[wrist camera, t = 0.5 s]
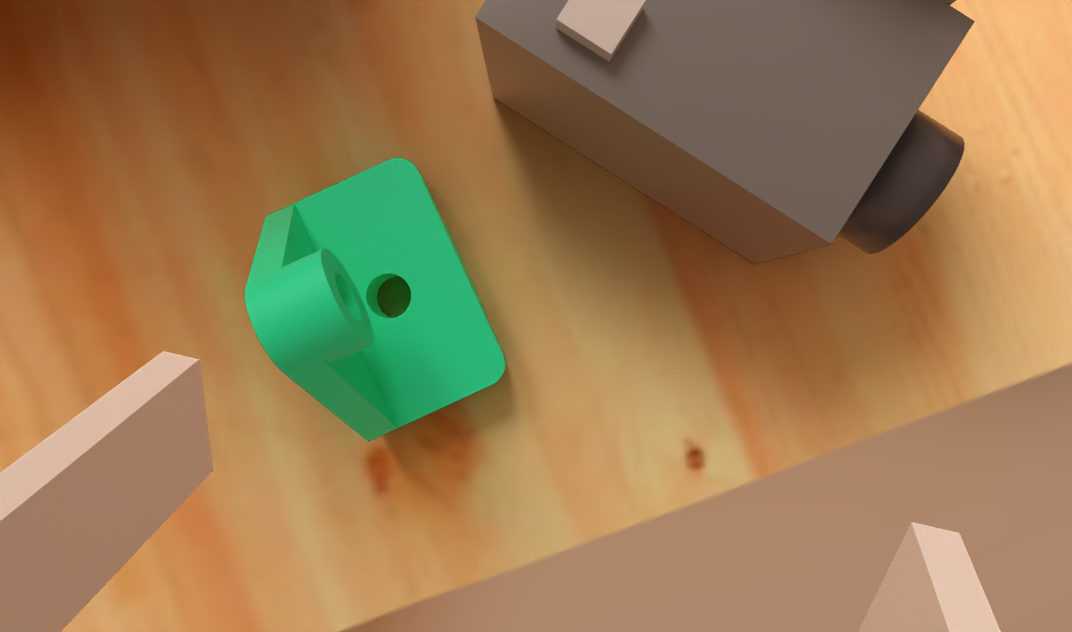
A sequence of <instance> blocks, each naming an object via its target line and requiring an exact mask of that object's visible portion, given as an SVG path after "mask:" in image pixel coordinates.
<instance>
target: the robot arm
mask: <svg viewBox="0 0 1072 632" xmlns="http://www.w3.org/2000/svg"><path fill="white" fill-rule="evenodd" d="M212 471H213V468H212V460H211V452H210V443H209V435H208V427H207V419H206V411H205V403H204V394H203V386H202V378H201V370H200V362H199V359H196V358H191V357H187V356H183V355H178V354H174V353H170V352H165V351H162V352H161V353H160V354H158V355H157V356H156V357H154V358H153V359H152V360H150V361H149V362H148V363H146V364H145V365H144V366H142V367H141V368H140V369H138V370H137V371H136V372H134V373H133V374H132V375H130V376H129V377H127V378H126V379H125V380H123V381H122V382H121V383H119V384H118V385H117V386H115V387H114V388H113V389H111V390H110V391H109V392H107V393H106V394H105V395H103V396H102V397H101V398H99V399H98V400H97V401H95V402H94V403H93V404H91V405H90V406H89V407H87V408H86V409H85V410H83V411H82V412H81V413H79V414H78V415H77V416H75V417H74V418H72V419H71V420H70V421H68V422H67V423H66V424H64V425H63V426H62V427H60V428H59V429H58V430H56V431H55V432H54V433H52V434H51V435H50V436H48V437H47V438H46V439H44V440H43V441H42V442H40V443H39V444H38V445H36V446H35V447H34V448H32V449H31V450H30V451H28V452H27V453H26V454H24V455H23V456H22V457H20V458H19V459H17V460H16V461H15V462H13V463H12V464H11V465H9V466H8V467H7V468H5V469H4V470H3V471H1V472H0V632H61V631H62V630H63V629H64V628H65V627H66V626H67V624H68V623H69V622H70V621H71V620H72V619H73V618H74V617H75V616H76V615H77V614H78V613H79V612H80V611H81V610H82V609H83V608H84V606H85V605H86V604H87V603H88V602H89V601H90V600H91V599H92V598H93V597H94V596H95V595H96V594H97V593H98V592H99V591H100V589H101V588H102V587H103V586H104V585H105V584H106V583H107V582H108V581H109V580H110V579H111V578H112V577H113V576H114V575H115V574H116V573H117V571H118V570H119V569H120V568H121V567H122V566H123V565H124V564H125V563H126V562H127V561H128V560H129V559H130V558H131V557H132V556H133V555H134V553H135V552H136V551H137V550H138V549H139V548H140V547H141V546H142V545H143V544H144V543H145V542H146V541H147V540H148V539H149V538H150V537H151V535H152V534H153V533H154V532H155V531H156V530H157V529H158V528H159V527H160V526H161V525H162V524H163V523H164V522H165V521H166V520H167V519H168V517H169V516H170V515H171V514H172V513H173V512H174V511H175V510H176V509H177V508H178V507H179V506H180V505H181V504H182V503H183V502H184V501H185V499H186V498H187V497H188V496H189V495H190V494H191V493H192V492H193V491H194V490H195V489H196V488H197V487H198V486H199V485H200V484H201V482H202V481H203V480H204V479H205V478H206V477H207V476H208V475H209V474H210V473H211V472H212ZM858 632H1001V631H1000V629H999V627H998V624H997V622H996V619H995V617H994V615H993V612H992V610H991V607H990V605H989V603H988V601H987V598H986V596H985V593H984V591H983V588H982V586H981V584H980V581H979V579H978V576H977V574H976V572H975V569H974V567H973V565H972V562H971V560H970V557H969V555H968V553H967V550H966V548H965V545H964V543H963V541H962V538H961V536H960V534H959V533H958V532H953V531H949V530H944V529H940V528H936V527H931V526H927V525H923V524H918V523H914V522H911V524H910V526H909V528H908V530H907V532H906V534H905V536H904V538H903V540H902V543H901V545H900V546H899V548H898V550H897V553H896V555H895V557H894V559H893V561H892V563H891V565H890V567H889V569H888V571H887V573H886V575H885V577H884V579H883V581H882V583H881V585H880V587H879V589H878V592H877V594H876V596H875V598H874V600H873V602H872V604H871V606H870V608H869V610H868V612H867V614H866V616H865V618H864V620H863V622H862V624H861V626H860V629H859V631H858Z"/></svg>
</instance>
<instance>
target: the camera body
mask: <svg viewBox="0 0 1072 632" xmlns="http://www.w3.org/2000/svg"><path fill="white" fill-rule="evenodd" d="M475 18H476V22H477V27H478V31H479V36H480V40H481V45H482V49H483V54H484V59H485V63H486V68H487V72H488V77H489V81H490V86H491V90H492V95H493V98H494V99H496V100H498V101H499V102H501V103H502V104H504V105H505V106H507V107H509V108H510V109H512V110H513V111H515V112H516V113H518V114H520V115H521V116H523V117H524V118H526V119H527V120H529V121H531V122H532V123H534V124H535V125H537V126H538V127H540V128H541V129H543V130H545V131H546V132H548V133H549V134H551V135H552V136H554V137H556V138H557V139H559V140H560V141H562V142H563V143H565V144H567V145H568V146H570V147H571V148H573V149H574V150H576V151H578V152H579V153H581V154H582V155H584V156H585V157H587V158H588V159H590V160H592V161H593V162H595V163H596V164H598V165H599V166H601V167H603V168H604V169H606V170H607V171H609V172H610V173H612V174H614V175H615V176H617V177H618V178H620V179H621V180H623V181H625V182H626V183H628V184H629V185H631V186H632V187H634V188H635V189H637V190H639V191H640V192H642V193H643V194H645V195H646V196H648V197H650V198H651V199H653V200H654V201H656V202H657V203H659V204H661V205H662V206H664V207H665V208H667V209H668V210H670V211H672V212H673V213H675V214H676V215H678V216H679V217H681V218H682V219H684V220H686V221H687V222H689V223H690V224H692V225H693V226H695V227H697V228H698V229H700V230H701V231H703V232H704V233H706V234H708V235H709V236H711V237H712V238H714V239H715V240H717V241H719V242H720V243H722V244H723V245H725V246H726V247H728V248H729V249H731V250H733V251H734V252H736V253H737V254H739V255H740V256H742V257H744V258H745V259H747V260H748V261H750V262H751V263H753V264H759V263H762V262H766V261H770V260H774V259H778V258H781V257H785V256H789V255H793V254H797V253H800V252H804V251H808V250H812V249H815V248H819V247H823V246H827V245H831V244H832V243H833V241H834V240H835V238H836V237H837V235H839V236H841V237H842V238H844V239H845V240H847V241H849V242H850V243H852V244H853V245H855V246H856V247H858V248H860V249H861V250H863V251H864V252H866V253H869V254H873V253H877V252H879V251H881V250H883V249H885V248H887V247H889V246H890V245H891V244H893V243H894V242H896V241H897V240H898V239H899V238H901V237H902V236H903V235H904V234H905V233H906V232H908V231H909V230H910V229H911V228H912V227H913V226H914V225H915V224H916V223H917V222H918V221H919V220H920V219H921V218H922V216H923V215H924V214H925V213H926V212H927V211H928V210H929V208H930V207H931V206H932V205H933V204H934V202H935V201H936V200H937V198H938V197H939V196H940V194H941V193H942V192H943V190H944V189H945V187H946V186H947V184H948V183H949V181H950V180H951V178H952V176H953V175H954V173H955V171H956V169H957V167H958V165H959V163H960V160H961V158H962V155H963V151H964V140H963V138H962V137H960V136H959V135H957V134H956V133H954V132H952V131H951V130H949V129H948V128H946V127H945V126H943V125H941V124H940V123H938V122H937V121H935V120H934V119H932V118H930V117H929V116H927V115H926V114H924V113H922V112H921V111H919V110H918V109H919V107H920V106H921V104H922V103H923V101H924V99H925V98H926V96H927V95H928V93H929V92H930V90H931V89H932V87H933V85H934V84H935V82H936V81H937V79H938V78H939V76H940V75H941V73H942V71H943V70H944V68H945V67H946V65H947V64H948V62H949V61H950V59H951V57H952V56H953V54H954V53H955V51H956V50H957V48H958V46H959V45H960V43H961V42H962V40H963V39H964V37H965V36H966V34H967V32H968V31H969V29H970V28H971V26H972V25H973V23H974V22H975V21H973V20H972V19H970V18H968V17H967V16H965V15H964V14H962V13H961V12H959V11H957V10H956V9H954V8H953V7H951V6H949V5H948V4H946V3H945V2H943V1H942V0H486V1H485V3H484V5H483V6H482V8H481V9H480V11H479V12H478V14H477V16H476V17H475Z"/></svg>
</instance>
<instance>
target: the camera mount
mask: <svg viewBox="0 0 1072 632" xmlns="http://www.w3.org/2000/svg"><path fill="white" fill-rule="evenodd" d="M396 276H400V277H402V278H403V279H404V280H405V281H406V282H407V284H408V285H409V287H410V291H411V301H410V304H409V306H408V308H407V309H406V311H405V312H404V313H403V314H401V315H400V316H398V317H395V318H392V317H390V316H388V315H386V314H385V313H384V312H383V311H382V310H381V308H380V306H379V304H378V299H377V296H378V291H379V288H380V287H381V285H382V284H383V283H384V282H385V281H386V280H387V279H389V278H392V277H396ZM245 303H246V308H247V312H248V315H249V318H250V321H251V324H252V326H253V328H254V331H255V333H256V335H257V337H258V339H259V341H260V343H261V344H262V346H263V348H264V349H265V351H266V353H267V354H268V355H269V357H270V358H271V360H272V361H273V362H274V363H275V365H276V366H277V367H278V368H279V369H280V370H281V371H282V372H283V373H284V374H286V375H287V376H288V377H289V378H291V379H292V380H293V381H294V382H296V383H297V384H298V385H299V386H300V387H302V388H303V389H304V390H305V391H307V392H308V393H309V394H310V395H312V396H313V397H314V398H315V399H317V400H318V401H319V402H320V403H321V404H323V405H324V406H325V407H326V408H328V409H329V410H330V411H331V412H333V413H334V414H335V415H336V416H338V417H339V418H340V419H341V420H342V421H344V422H345V423H346V424H347V425H349V426H350V427H351V428H352V429H354V430H355V431H356V432H357V433H359V434H360V435H361V436H362V437H364V438H365V439H366V440H367V441H368V442H369V441H371V440H373V439H375V438H377V437H380V436H382V435H384V434H386V433H388V432H390V431H393V430H395V429H397V428H399V427H401V426H404V425H406V424H408V423H410V422H412V421H414V420H417V419H419V418H421V417H423V416H425V415H427V414H430V413H432V412H434V411H436V410H438V409H441V408H443V407H445V406H447V405H449V404H451V403H454V402H456V401H458V400H460V399H462V398H464V397H467V396H469V395H471V394H473V393H475V392H478V391H480V390H482V389H484V388H486V387H488V386H491V385H493V384H494V383H496V382H497V381H498V380H499V379H500V378H501V376H502V375H503V373H504V371H505V368H506V357H505V354H504V352H503V350H502V348H501V346H500V343H499V341H498V339H497V337H496V335H495V332H494V330H493V328H492V326H491V324H490V322H489V319H488V317H487V315H486V313H485V311H484V309H485V308H484V306H483V304H482V301H481V299H480V297H479V295H478V293H477V290H476V288H475V286H474V284H473V282H472V280H471V277H470V275H469V273H468V271H467V269H466V267H465V264H464V262H463V260H462V258H461V256H460V253H459V251H458V249H457V247H456V245H455V243H454V240H453V238H452V236H451V234H450V232H449V229H448V227H447V226H446V225H445V224H444V221H443V219H442V217H441V215H440V213H439V210H438V208H437V206H436V204H435V202H434V200H433V197H432V195H431V193H430V191H429V189H428V187H427V184H426V182H425V180H424V178H423V176H422V174H421V173H420V172H419V170H418V169H417V168H416V167H415V165H414V164H413V163H411V162H410V161H408V160H406V159H403V158H392V159H389V160H387V161H385V162H382V163H380V164H378V165H376V166H374V167H372V168H369V169H367V170H365V171H363V172H361V173H359V174H356V175H354V176H352V177H350V178H348V179H345V180H343V181H341V182H339V183H337V184H335V185H332V186H330V187H328V188H326V189H324V190H322V191H319V192H317V193H315V194H313V195H311V196H309V197H306V198H304V199H302V200H300V201H298V202H296V203H293V204H291V205H289V206H287V207H285V208H283V209H280V210H278V211H276V212H274V213H272V214H270V215H267V216H266V217H265V220H264V224H263V228H262V231H261V235H260V238H259V242H258V245H257V249H256V252H255V256H254V260H253V263H252V267H251V270H250V274H249V277H248V281H247V284H246V288H245Z"/></svg>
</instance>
